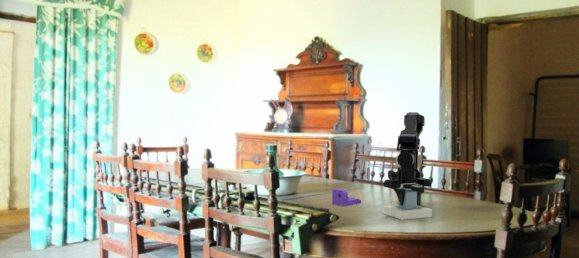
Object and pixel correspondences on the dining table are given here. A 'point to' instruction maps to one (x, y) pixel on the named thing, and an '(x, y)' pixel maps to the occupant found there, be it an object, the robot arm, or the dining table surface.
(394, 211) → the well
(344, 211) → the dining table surface
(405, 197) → the block
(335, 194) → the bracket
